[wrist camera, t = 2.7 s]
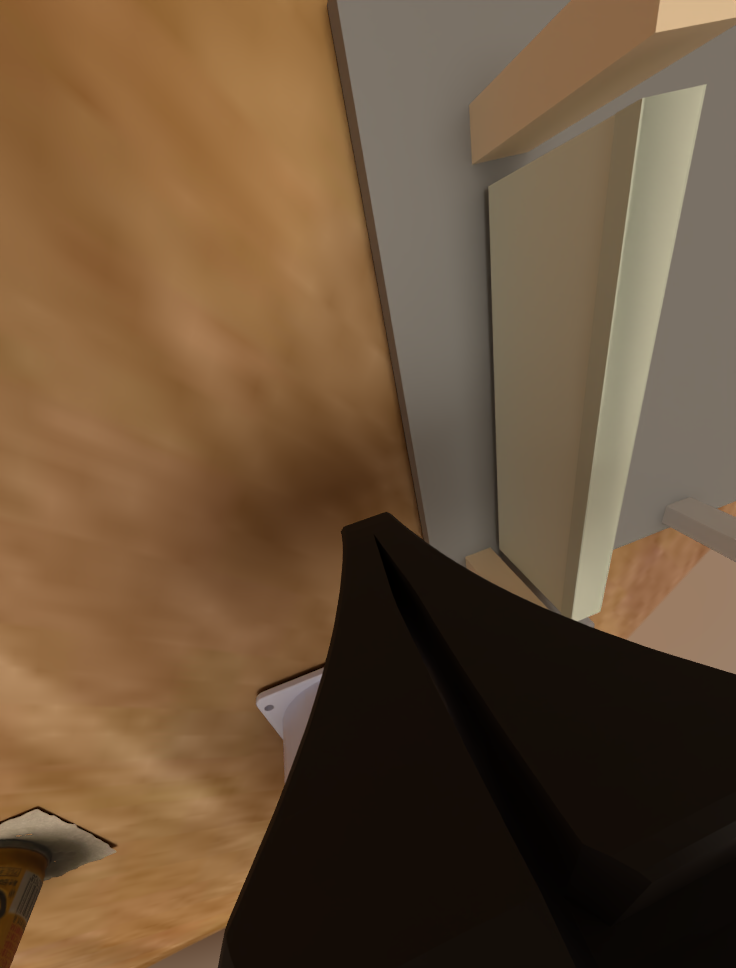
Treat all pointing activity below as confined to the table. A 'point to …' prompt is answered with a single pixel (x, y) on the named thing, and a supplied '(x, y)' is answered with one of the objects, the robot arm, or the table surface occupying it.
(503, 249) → the gate
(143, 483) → the table surface
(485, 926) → the robot arm
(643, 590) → the table surface
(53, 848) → the condiment
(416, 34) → the grey square baseplate
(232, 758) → the table surface
